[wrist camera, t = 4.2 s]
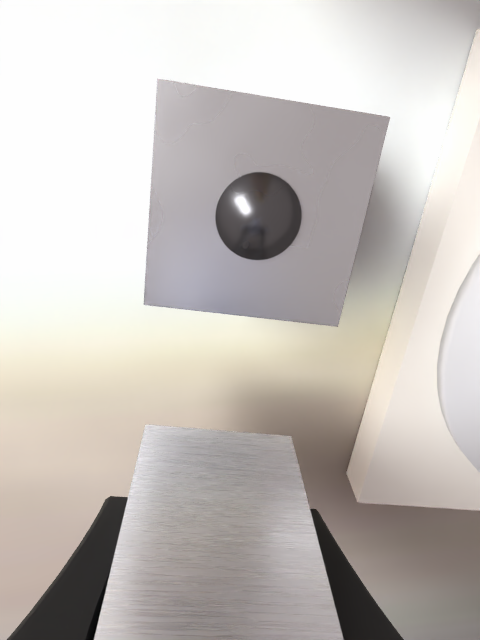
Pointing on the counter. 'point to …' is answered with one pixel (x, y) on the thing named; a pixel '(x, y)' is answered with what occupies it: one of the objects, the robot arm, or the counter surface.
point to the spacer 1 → (256, 203)
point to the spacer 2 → (217, 544)
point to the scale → (433, 342)
